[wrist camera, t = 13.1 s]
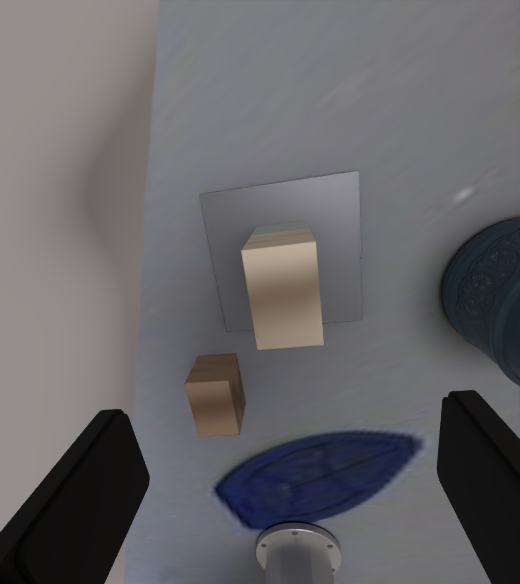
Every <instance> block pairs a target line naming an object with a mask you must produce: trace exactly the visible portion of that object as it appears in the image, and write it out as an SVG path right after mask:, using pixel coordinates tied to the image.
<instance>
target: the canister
mask: <svg viewBox="0 0 520 584" xmlns="http://www.w3.org/2000/svg"><path fill="white" fill-rule="evenodd" d="M442 302H443V307H444V310H445V312H446V314H447V316H448V318H449V320H450V322H451V323H452V325H453V327H454V328H455V329H456V330H457V332H458V333H459V334H460V335H461V336H463V337H464V338H465V339H466V340H467V341H468V342H469V343H471V344H472V345H474V346H476V347H477V348H479V349H480V350H481V351H483V352H484V353H485V354H486V355H487V356H488V357H489V358H491V359H492V360H493V361H494V362H495V363H496V364H497V365H498V366H499V367H500V369H501V370H502V371H503V373H504V374H505V375H506V376H507V377H508V378H509V379H510V380H512V381H513V382H514V383H516V384H517V385H518V386H520V218H515V219H511V220H507V221H504V222H501V223H498V224H496V225H494V226H491V227H489V228H487V229H486V230H484V231H482V232H481V233H479V234H478V235H476V236H475V237H474V238H472V239H471V240H470V241H469V242H468V243H467V244H466V245H464V247H463V248H462V249H461V250H460V251H459V252H458V253H457V255H456V256H455V257H454V259H453V260H452V262H451V264H450V265H449V267H448V270H447V272H446V274H445V277H444V281H443V286H442Z"/></svg>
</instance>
